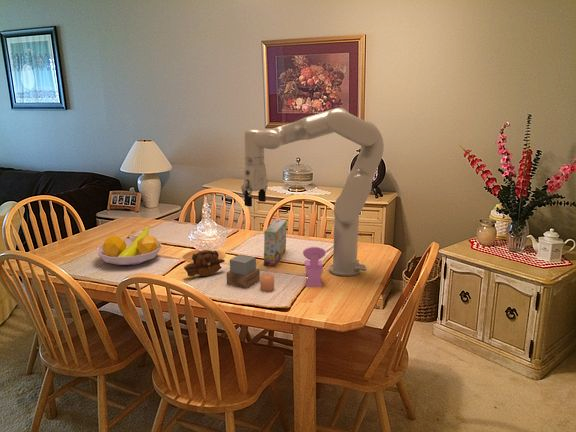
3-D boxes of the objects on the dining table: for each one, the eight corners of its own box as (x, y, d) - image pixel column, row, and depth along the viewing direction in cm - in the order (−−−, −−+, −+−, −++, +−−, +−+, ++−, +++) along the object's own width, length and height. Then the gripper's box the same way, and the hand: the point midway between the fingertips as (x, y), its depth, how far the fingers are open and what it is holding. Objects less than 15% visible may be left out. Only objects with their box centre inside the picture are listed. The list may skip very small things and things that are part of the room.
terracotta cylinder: (276, 288, 176) (276, 275, 175) (269, 292, 172) (269, 279, 170) (264, 285, 178) (264, 272, 177) (257, 290, 174) (257, 277, 173)
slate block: (256, 269, 181) (255, 257, 180) (245, 275, 175) (245, 263, 174) (240, 266, 184) (240, 254, 183) (230, 272, 178) (229, 259, 177)
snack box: (276, 267, 197) (276, 232, 193) (263, 266, 198) (263, 231, 195) (286, 251, 217) (287, 218, 214) (274, 250, 218) (274, 218, 215)
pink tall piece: (323, 278, 186) (324, 241, 182) (325, 286, 177) (326, 248, 174) (301, 278, 186) (302, 241, 182) (302, 286, 177) (303, 248, 173)
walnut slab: (259, 281, 183) (259, 269, 181) (247, 289, 175) (246, 277, 174) (240, 277, 187) (239, 265, 186) (226, 285, 179) (226, 272, 178)
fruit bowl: (127, 275, 187) (124, 248, 184) (84, 262, 201) (81, 236, 198) (179, 256, 210) (177, 231, 207) (137, 245, 224) (135, 222, 221)
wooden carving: (188, 281, 181) (187, 257, 179) (183, 278, 185) (182, 253, 182) (227, 272, 191) (226, 249, 188) (221, 269, 194) (220, 246, 192)
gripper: (249, 164, 178) (250, 209, 183) (274, 159, 193) (274, 200, 197) (233, 163, 182) (234, 206, 186) (258, 158, 196) (259, 198, 201)
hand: (255, 203), depth 192 cm, fingers open, 9 cm apart
